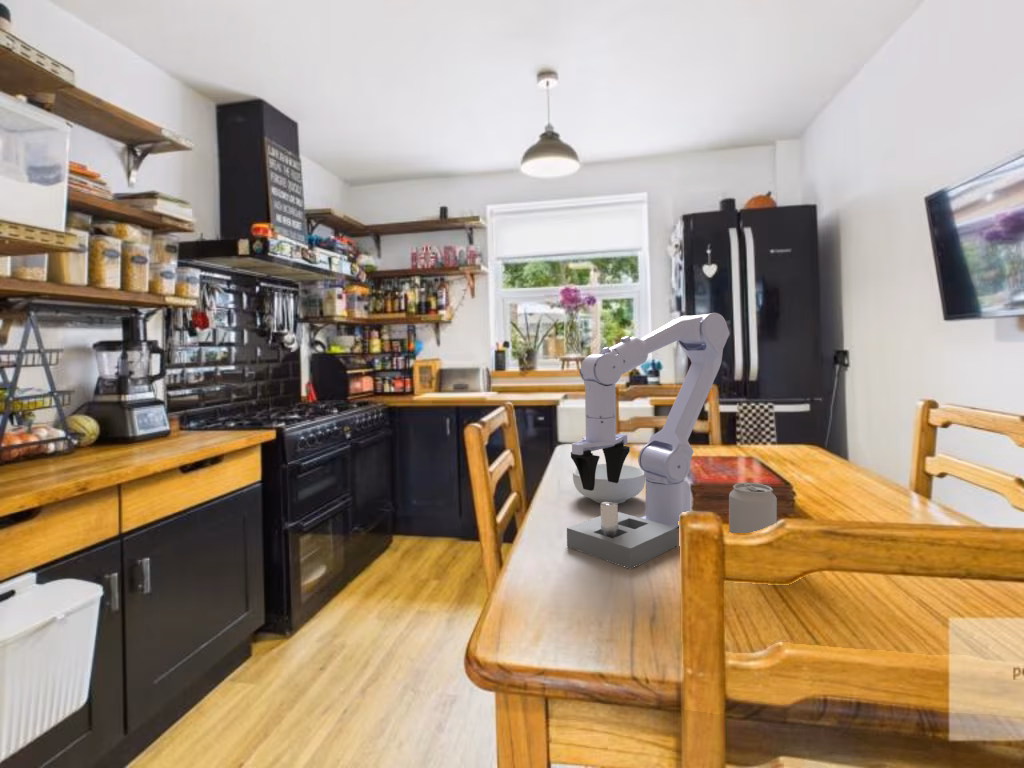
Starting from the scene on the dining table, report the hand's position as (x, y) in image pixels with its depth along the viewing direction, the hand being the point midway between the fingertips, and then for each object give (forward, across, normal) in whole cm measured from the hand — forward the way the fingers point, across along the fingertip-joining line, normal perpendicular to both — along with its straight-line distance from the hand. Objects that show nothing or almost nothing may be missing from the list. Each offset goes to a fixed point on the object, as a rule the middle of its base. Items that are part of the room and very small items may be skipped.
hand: (601, 485), depth 104 cm
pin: (+9, +6, +7) cm, 13 cm away
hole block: (+9, +3, +7) cm, 12 cm away
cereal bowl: (+10, -19, -13) cm, 25 cm away
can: (+10, -10, +25) cm, 29 cm away
